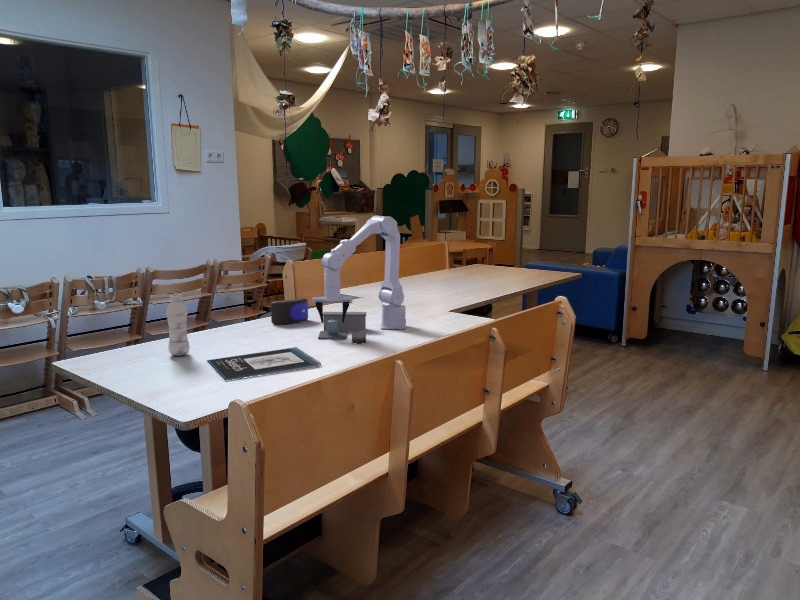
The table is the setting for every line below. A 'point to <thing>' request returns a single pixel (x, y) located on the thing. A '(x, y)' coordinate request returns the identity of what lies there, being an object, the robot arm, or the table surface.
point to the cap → (359, 336)
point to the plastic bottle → (177, 326)
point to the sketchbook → (263, 363)
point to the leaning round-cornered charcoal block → (289, 311)
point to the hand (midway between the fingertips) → (332, 322)
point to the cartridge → (332, 327)
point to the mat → (324, 336)
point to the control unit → (346, 320)
